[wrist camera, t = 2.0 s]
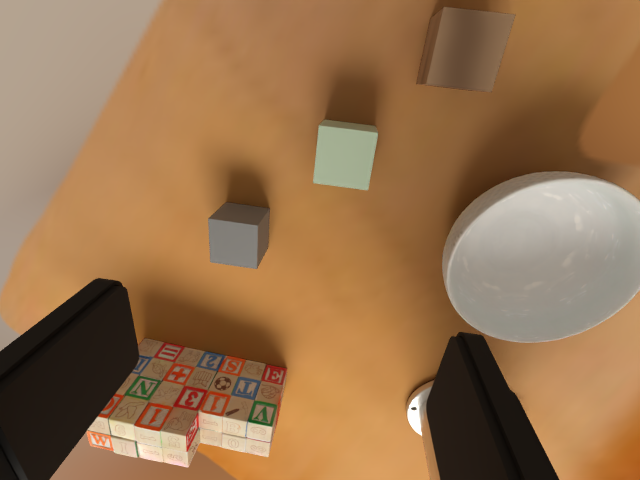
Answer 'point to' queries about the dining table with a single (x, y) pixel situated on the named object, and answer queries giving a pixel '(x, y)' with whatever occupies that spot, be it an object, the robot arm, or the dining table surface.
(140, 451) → the stack of blocks
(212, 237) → the gray cube
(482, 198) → the cereal bowl
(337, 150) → the sage green cube
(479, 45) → the walnut cube
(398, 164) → the dining table surface
